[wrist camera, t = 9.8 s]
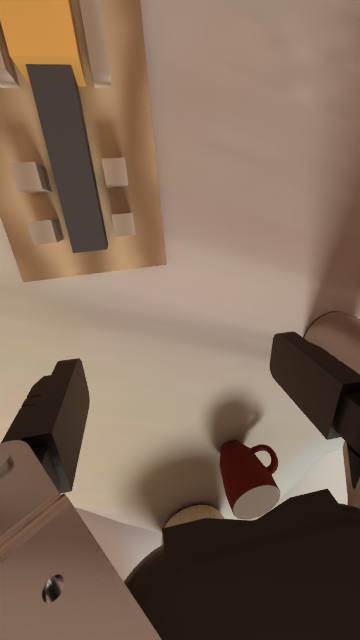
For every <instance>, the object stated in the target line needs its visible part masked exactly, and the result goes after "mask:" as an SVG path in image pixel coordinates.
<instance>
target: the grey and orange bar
mask: <svg viewBox="0 0 360 640" xmlns="http://www.w3.org/2000/svg"><path fill="white" fill-rule="evenodd" d="M0 21H1V25H2V29H3V32H4V36H5V40H6V44H7V47H8V51H9V55H10V57H11V58H12V60H13V61H14V63H15V64H16V66H17V67H18V68H19V70H20V71H21V73H22V74H23V76H24V77H25V79H26V80H27V81H28V83H29V84H30V86H31V88H32V92H33V96H34V100H35V104H36V108H37V112H38V116H39V120H40V124H41V128H42V132H43V136H44V140H45V144H46V148H47V152H48V156H49V160H50V164H51V168H52V172H53V176H54V180H55V183H56V187H57V191H58V195H59V199H60V203H61V207H62V211H63V215H64V219H65V223H66V227H67V231H68V235H69V239H70V243H71V247H72V251H73V253H80V252H89V251H98V250H107V248H108V241H107V235H106V230H105V225H104V220H103V214H102V209H101V204H100V199H99V193H98V188H97V183H96V178H95V173H94V167H93V162H92V157H91V152H90V146H89V141H88V136H87V131H86V125H85V120H84V115H83V110H82V104H81V99H80V94H79V89H78V86H86V82H85V77H84V71H83V66H82V60H81V55H80V49H79V44H78V38H77V32H76V27H75V21H74V16H73V11H72V7H71V2H70V0H0Z"/></svg>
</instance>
